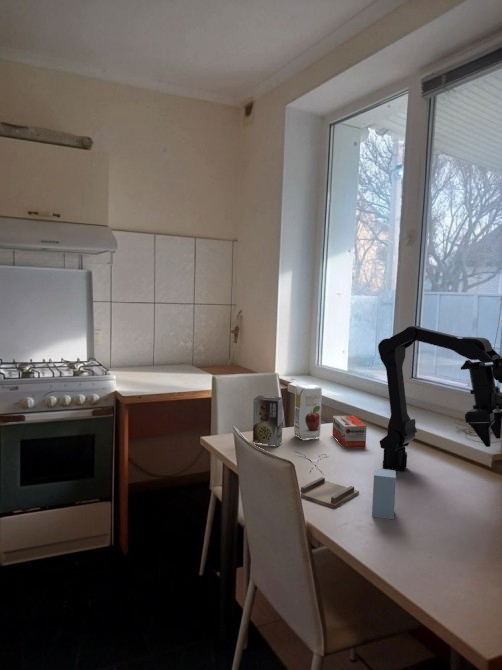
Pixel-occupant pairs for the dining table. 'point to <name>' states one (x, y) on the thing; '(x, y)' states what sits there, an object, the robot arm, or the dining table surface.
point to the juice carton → (307, 411)
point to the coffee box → (267, 420)
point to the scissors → (317, 460)
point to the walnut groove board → (327, 493)
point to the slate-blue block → (384, 493)
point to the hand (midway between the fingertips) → (493, 442)
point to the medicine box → (349, 431)
